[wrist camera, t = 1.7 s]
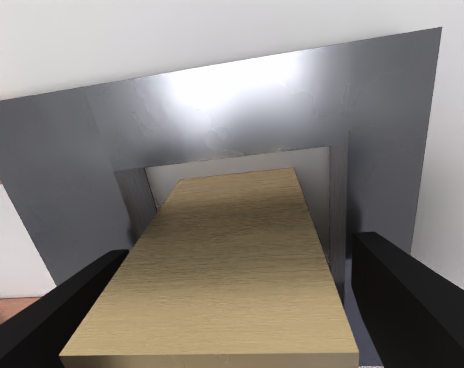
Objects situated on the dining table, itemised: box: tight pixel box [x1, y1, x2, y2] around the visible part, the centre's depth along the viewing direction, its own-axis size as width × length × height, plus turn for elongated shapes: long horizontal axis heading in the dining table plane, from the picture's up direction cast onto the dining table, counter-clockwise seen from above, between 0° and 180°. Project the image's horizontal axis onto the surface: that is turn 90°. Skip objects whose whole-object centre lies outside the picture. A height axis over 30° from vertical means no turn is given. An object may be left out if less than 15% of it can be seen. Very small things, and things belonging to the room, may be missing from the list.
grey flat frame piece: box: [0, 27, 442, 366], centre depth 11 cm, size 12×22×2 cm, turn 98°
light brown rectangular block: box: [59, 168, 359, 368], centre depth 8 cm, size 4×4×7 cm
